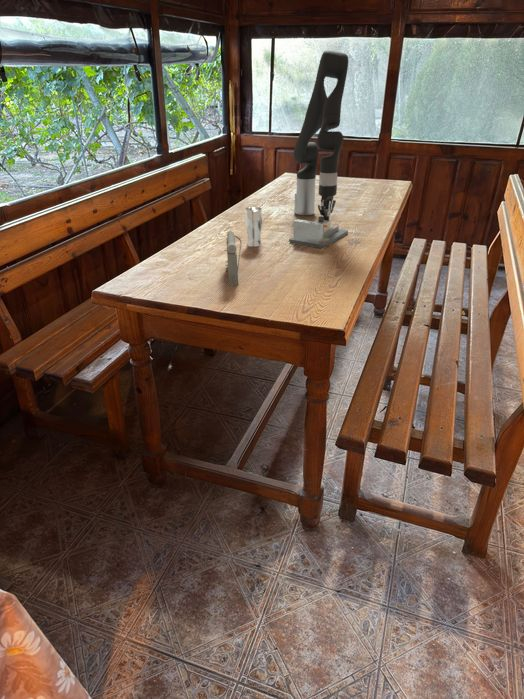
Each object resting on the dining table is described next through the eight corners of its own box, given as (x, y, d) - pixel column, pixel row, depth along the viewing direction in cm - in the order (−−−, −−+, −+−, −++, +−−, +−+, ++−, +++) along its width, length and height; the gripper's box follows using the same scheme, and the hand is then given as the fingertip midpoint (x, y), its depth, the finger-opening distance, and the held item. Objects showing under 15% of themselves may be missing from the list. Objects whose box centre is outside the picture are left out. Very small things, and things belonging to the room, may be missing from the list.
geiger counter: (222, 228, 178) (224, 251, 156) (240, 228, 178) (244, 250, 157) (225, 265, 185) (226, 291, 163) (242, 264, 185) (245, 290, 163)
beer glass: (264, 243, 207) (264, 207, 200) (259, 248, 202) (258, 211, 194) (249, 241, 209) (248, 206, 202) (243, 246, 204) (242, 210, 196)
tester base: (289, 242, 208) (289, 234, 206) (315, 228, 225) (315, 221, 223) (323, 248, 200) (323, 240, 198) (347, 233, 218) (348, 225, 216)
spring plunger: (311, 234, 212) (311, 217, 208) (317, 230, 216) (318, 214, 213) (323, 236, 209) (324, 219, 205) (329, 232, 213) (330, 216, 210)
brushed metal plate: (293, 239, 206) (293, 220, 202) (296, 238, 208) (297, 219, 204) (319, 244, 200) (320, 224, 196) (322, 242, 202) (323, 223, 198)
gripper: (326, 179, 213) (324, 219, 221) (312, 185, 203) (311, 227, 212) (342, 181, 209) (340, 222, 218) (329, 187, 200) (327, 229, 208)
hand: (325, 224), depth 215 cm, fingers closed
